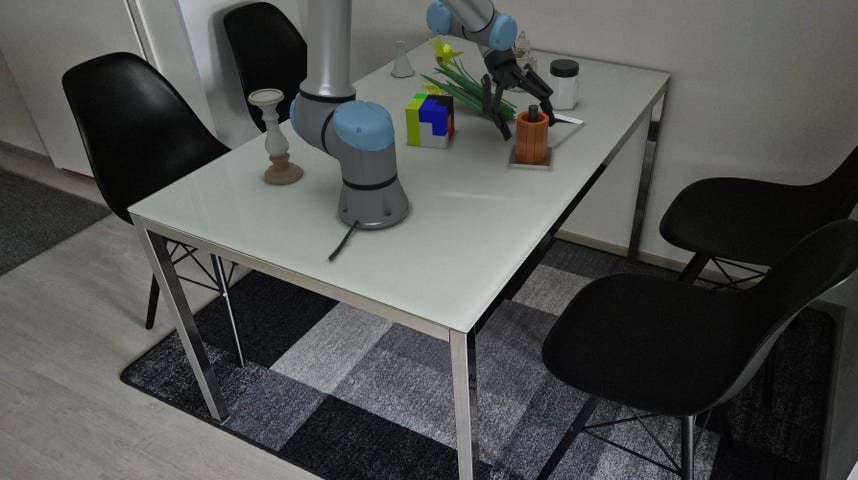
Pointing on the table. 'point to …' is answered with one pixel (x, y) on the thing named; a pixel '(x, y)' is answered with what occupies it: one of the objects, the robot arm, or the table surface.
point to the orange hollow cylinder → (531, 137)
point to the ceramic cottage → (522, 56)
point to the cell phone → (567, 119)
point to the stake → (546, 162)
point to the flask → (401, 62)
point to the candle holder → (275, 139)
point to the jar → (563, 83)
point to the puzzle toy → (430, 120)
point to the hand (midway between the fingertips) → (531, 131)
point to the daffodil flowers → (460, 82)
